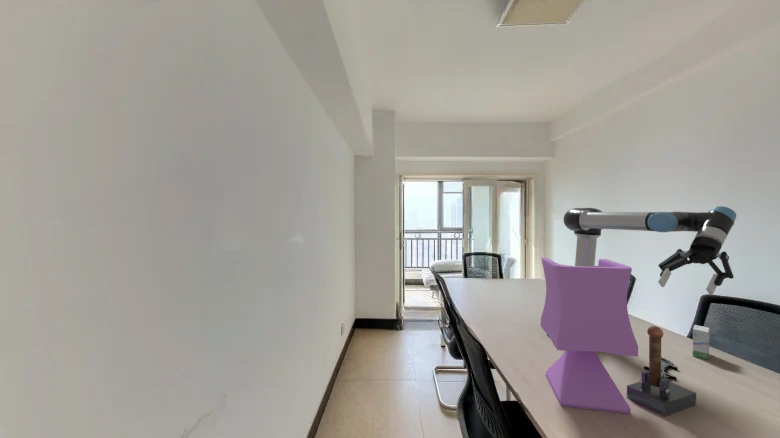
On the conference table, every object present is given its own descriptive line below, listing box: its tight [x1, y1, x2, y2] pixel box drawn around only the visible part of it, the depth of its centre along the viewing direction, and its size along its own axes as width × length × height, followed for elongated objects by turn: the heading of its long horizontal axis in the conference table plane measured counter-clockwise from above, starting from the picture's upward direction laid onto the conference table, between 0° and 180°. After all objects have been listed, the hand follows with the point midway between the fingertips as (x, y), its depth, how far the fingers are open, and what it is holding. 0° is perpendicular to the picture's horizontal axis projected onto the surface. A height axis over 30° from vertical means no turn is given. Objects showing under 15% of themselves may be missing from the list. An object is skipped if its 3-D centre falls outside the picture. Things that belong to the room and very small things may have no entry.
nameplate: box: [643, 356, 679, 382], centre depth 124 cm, size 27×2×10 cm
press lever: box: [646, 325, 664, 387], centre depth 104 cm, size 4×4×19 cm
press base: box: [626, 370, 697, 417], centre depth 105 cm, size 11×16×9 cm
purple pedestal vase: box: [540, 257, 639, 415], centre depth 110 cm, size 22×22×45 cm
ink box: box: [692, 324, 710, 360], centre depth 139 cm, size 8×5×12 cm, turn 133°
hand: (683, 288), depth 110 cm, fingers open, 13 cm apart
